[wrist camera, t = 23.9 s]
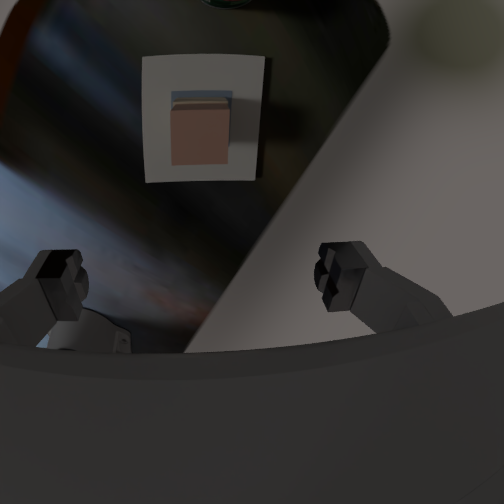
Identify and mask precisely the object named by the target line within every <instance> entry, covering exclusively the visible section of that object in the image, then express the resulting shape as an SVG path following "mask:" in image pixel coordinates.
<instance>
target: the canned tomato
mask: <svg viewBox="0 0 504 504" xmlns="http://www.w3.org/2000/svg"><path fill="white" fill-rule="evenodd" d="M201 1H202V2H203V3H204V4H206V5H208V6H211V7H214V8H218V9H233V8H238V7H241V6H243V5H245V4H247V3H249V2H250V1H251V0H201Z"/></svg>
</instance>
